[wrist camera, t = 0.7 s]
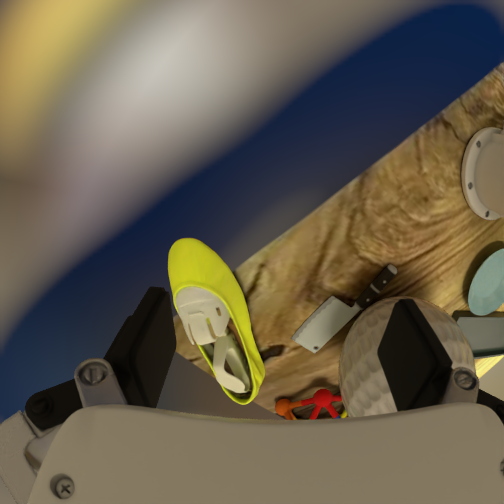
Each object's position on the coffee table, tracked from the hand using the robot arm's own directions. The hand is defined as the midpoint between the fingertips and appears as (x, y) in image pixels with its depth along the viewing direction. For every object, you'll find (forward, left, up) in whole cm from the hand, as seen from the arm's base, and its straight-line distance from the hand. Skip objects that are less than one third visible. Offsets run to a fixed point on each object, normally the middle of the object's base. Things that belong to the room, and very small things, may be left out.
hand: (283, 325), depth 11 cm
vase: (+15, +18, -21) cm, 31 cm away
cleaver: (+12, +9, -21) cm, 26 cm away
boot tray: (+18, +43, -21) cm, 51 cm away
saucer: (+6, +36, -21) cm, 42 cm away
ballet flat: (+17, -4, -21) cm, 28 cm away
